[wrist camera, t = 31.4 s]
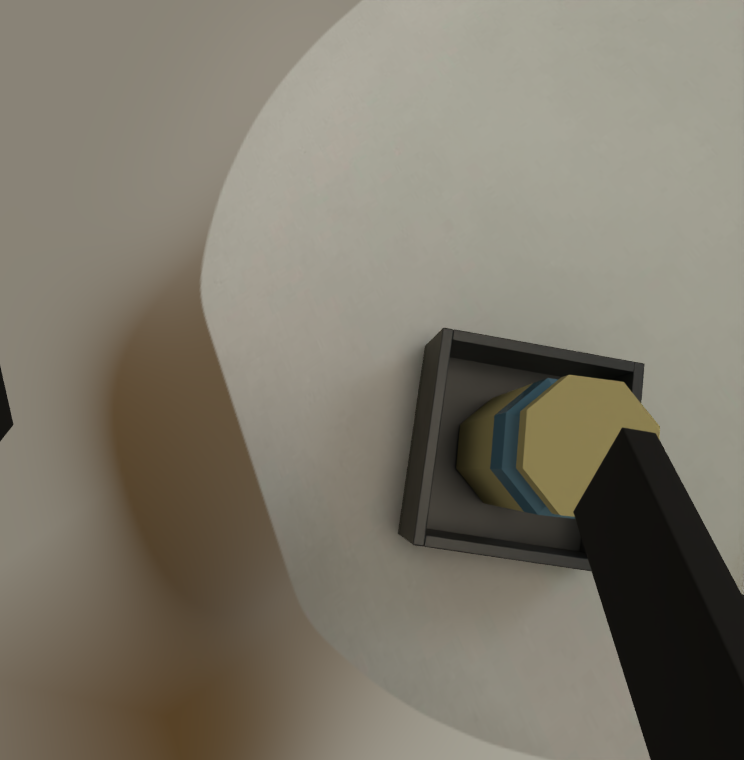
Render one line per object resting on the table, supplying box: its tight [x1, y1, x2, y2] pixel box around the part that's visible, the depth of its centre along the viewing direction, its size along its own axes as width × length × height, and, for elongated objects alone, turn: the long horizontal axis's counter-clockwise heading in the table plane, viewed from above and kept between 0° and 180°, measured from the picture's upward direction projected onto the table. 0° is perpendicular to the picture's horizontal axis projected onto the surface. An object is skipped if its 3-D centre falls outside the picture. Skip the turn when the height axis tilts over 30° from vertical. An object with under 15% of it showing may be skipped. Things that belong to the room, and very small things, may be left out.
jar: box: [456, 375, 660, 519], centre depth 42 cm, size 9×9×15 cm
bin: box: [398, 328, 644, 571], centre depth 46 cm, size 16×16×7 cm
